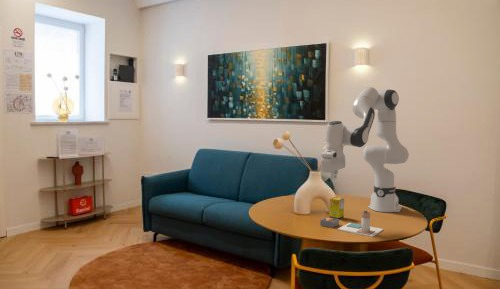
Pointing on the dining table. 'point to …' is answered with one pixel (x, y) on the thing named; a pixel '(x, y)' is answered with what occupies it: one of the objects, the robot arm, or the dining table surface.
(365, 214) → the cylinder
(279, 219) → the dining table surface
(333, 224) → the button housing
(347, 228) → the picture sheet
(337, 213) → the supplement box
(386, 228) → the dining table surface
